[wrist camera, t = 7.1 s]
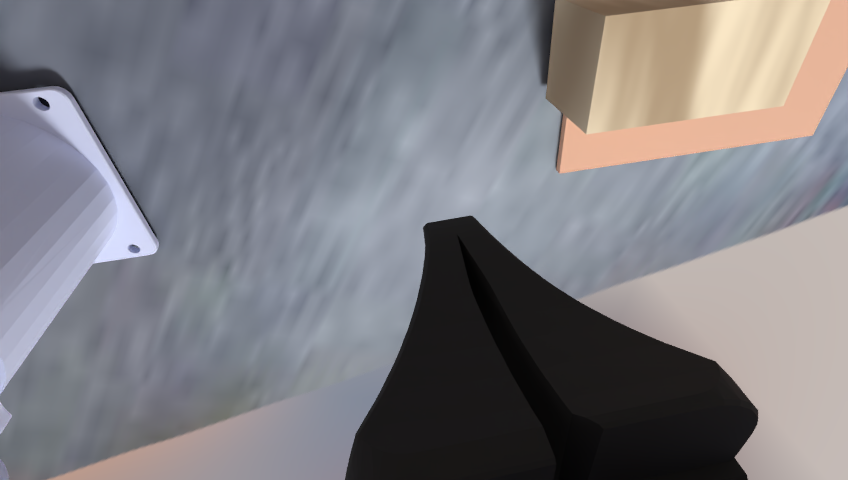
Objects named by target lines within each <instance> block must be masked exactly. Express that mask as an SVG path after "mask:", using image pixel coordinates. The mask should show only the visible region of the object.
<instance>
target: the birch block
mask: <svg viewBox="0 0 848 480" xmlns="http://www.w3.org/2000/svg"><path fill="white" fill-rule="evenodd" d="M830 1H831V0H555V9H554V19H553V29H552V40H551V50H550V60H549V70H548V81H547V91H546V99H547V100H548V101H549V102H550V103H552V104H553V105H554V106H555V107H556V108H557V109H558V110H559V111H560V112H562V113H563V114H564V115H565V116H566V117H567V118H568V119H569V120H571V121H572V122H573V123H574V124H575V125H576V126H577V127H578V128H580V129H581V130H582V131H583V132H584V133H585V134H593V133H600V132H607V131H614V130H621V129H628V128H635V127H642V126H649V125H656V124H663V123H669V122H676V121H683V120H690V119H697V118H704V117H711V116H718V115H725V114H732V113H739V112H746V111H753V110H760V109H767V108H774V107H781V106H784V104H785V101H786V99H787V97H788V95H789V92H790V90H791V88H792V86H793V83H794V81H795V79H796V77H797V74H798V72H799V70H800V68H801V65H802V63H803V61H804V59H805V57H806V54H807V52H808V50H809V48H810V45H811V43H812V41H813V39H814V36H815V34H816V32H817V30H818V27H819V25H820V23H821V21H822V19H823V16H824V14H825V12H826V10H827V7H828V5H829V3H830Z"/></svg>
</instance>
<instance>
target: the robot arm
mask: <svg viewBox="0 0 848 480" xmlns="http://www.w3.org/2000/svg"><path fill="white" fill-rule="evenodd" d="M38 97H41V98H43V99H45V100H46V101H47V102H48V103H49V105H50V107H46V106H44V105H43V104H42V103H41V102H40V101H39V98H38ZM423 230H424V238H425V259H424V267H423V274H422V280H421V284H420V289H419V293H418V298H417V302H416V305H415V309H414V312H413V315H412V319H411V322H410V325H409V328H408V331H407V333H406V336H405V338H404V341H403V344H402V346H401V349H400V351H399V353H398V356H397V358H396V360H395V363H394V365H393V367H392V369H391V371H390V373H389V375H388V377H387V379H386V381H385V383H384V385H383V387H382V389H381V391H380V393H379V395H378V397H377V399H376V401H375V402H374V404H373V406H372V407H371V409H370V411H369V412H368V414H367V416H366V418H365V419H364V421H363V423H362V424H361V426H360V428H359V429H358V431H357V433H356V435H355V439H354V443H353V447H352V450H351V454H350V458H349V463H348V467H347V472H346V478H345V480H748V479H747V475H746V473H745V472H744V470H743V469H742V468H741V466H740V465H739V464H738V462H737V461H736V459H735V458H734V457H735V456H736V455H737V453H738V452H739V451H740V449H741V448H742V447H743V445H744V444H745V443H746V441H747V440H748V438H749V437H750V436H751V434H752V433H753V431H754V429H755V427H756V425H757V422H758V410H757V409H756V408H755V406H754V405H753V404H752V403H751V401H750V400H749V399H748V398H747V397H746V395H745V394H744V393H743V392H742V390H741V389H740V388H739V387H738V385H737V384H736V383H735V382H734V381H733V379H732V378H731V377H730V376H729V375H728V374H727V373H726V372H725V371H724V370H723V369H722V368H721V367H720V366H719V365H718V364H717V363H716V362H715V361H713V360H710V359H707V358H705V357H702V356H699V355H696V354H694V353H691V352H688V351H685V350H683V349H680V348H677V347H675V346H672V345H669V344H666V343H664V342H661V341H659V340H656V339H654V338H652V337H649V336H647V335H645V334H642V333H640V332H638V331H636V330H633V329H631V328H629V327H627V326H625V325H623V324H620V323H618V322H616V321H614V320H612V319H610V318H608V317H607V316H605V315H603V314H601V313H599V312H597V311H595V310H593V309H591V308H589V307H588V306H586V305H584V304H582V303H580V302H579V301H577V300H575V299H574V298H572V297H570V296H569V295H567V294H566V293H564V292H563V291H561V290H559V289H558V288H556V287H555V286H553V285H552V284H551V283H549V282H548V281H546V280H545V279H543V278H542V277H541V276H540V275H538V274H537V273H536V272H534V271H533V270H532V269H530V268H529V267H528V266H526V265H525V264H524V263H523V262H522V261H520V260H519V259H518V258H517V257H516V256H514V255H513V254H512V253H511V252H510V251H509V250H507V249H506V248H505V247H504V246H503V245H502V244H501V243H500V242H499V241H498V240H496V239H495V238H494V237H493V236H492V235H491V234H490V233H489V232H488V231H487V230H486V229H485V228H484V227H483V226H482V225H481V224H480V223H479V222H478V221H477V220H476V219H475V218H474V217H473V216H466V217H460V218H454V219H448V220H443V221H437V222H431V223H427V224H426V225H425V226H424V227H423ZM132 245H136V246H138V247H139V248H135V247H133V246H132ZM158 247H159V242H158V240H157V238H156V237H155V235H154V233H153V232H152V230H151V228H150V226H149V225H148V223H147V221H146V220H145V218H144V216H143V215H142V213H141V211H140V209H139V208H138V206H137V204H136V203H135V201H134V199H133V197H132V196H131V194H130V192H129V191H128V189H127V187H126V185H125V184H124V182H123V180H122V179H121V177H120V175H119V174H118V172H117V170H116V168H115V167H114V165H113V163H112V162H111V160H110V158H109V156H108V155H107V153H106V151H105V150H104V148H103V146H102V145H101V143H100V141H99V139H98V138H97V136H96V134H95V133H94V131H93V129H92V127H91V126H90V124H89V122H88V121H87V119H86V117H85V116H84V114H83V112H82V110H81V109H80V107H79V105H78V104H77V102H76V100H75V98H74V97H73V96H72V94H71V93H70V92H68V91H67V90H66V89H64V88H61V87H59V86H47V87H39V88H31V89H23V90H15V91H7V92H0V394H1V392H2V391H3V390H4V388H5V387H6V385H7V384H8V382H9V381H10V380H11V378H12V377H13V375H14V374H15V373H16V371H17V370H18V368H19V367H20V365H21V364H22V363H23V361H24V360H25V358H26V357H27V356H28V354H29V353H30V351H31V350H32V349H33V347H34V346H35V344H36V343H37V341H38V340H39V339H40V337H41V336H42V334H43V333H44V332H45V330H46V329H47V327H48V326H49V325H50V323H51V322H52V320H53V319H54V317H55V316H56V315H57V313H58V312H59V310H60V309H61V308H62V306H63V305H64V303H65V302H66V301H67V299H68V298H69V296H70V295H71V293H72V292H73V291H74V289H75V288H76V286H77V285H78V284H79V282H80V281H81V279H82V278H83V277H84V275H85V274H86V272H87V271H88V269H89V268H90V267H91V265H92V264H93V263H99V262H106V261H112V260H119V259H125V258H132V257H138V256H145V255H151V254H154V253H155V252H156V251H157V249H158ZM11 417H12V415H11V413H10V412H8V411H7V410H6V409H5V408H4V407H3V405H2V404H1V402H0V434H1V433H2V431H3V430H4V428H5V427H6V425H7V424H8V422H9V420H10V419H11ZM0 480H9V475H8V472H7V469H6V466H5V464H4V463H3V462H2V460H1V459H0Z"/></svg>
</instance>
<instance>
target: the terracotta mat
mask: <svg viewBox="0 0 848 480" xmlns="http://www.w3.org/2000/svg"><path fill="white" fill-rule="evenodd" d="M847 67H848V0H831V1H830V3H829V5H828V7H827V10H826V12H825V14H824V16H823V19H822V21H821V23H820V25H819V27H818V30H817V32H816V34H815V36H814V39H813V41H812V43H811V45H810V48H809V50H808V52H807V54H806V57H805V59H804V61H803V63H802V65H801V68H800V70H799V72H798V74H797V77H796V79H795V81H794V83H793V86H792V88H791V90H790V92H789V95H788V97H787V99H786V101H785V104H784V106H781V107H774V108H767V109H760V110H753V111H746V112H739V113H732V114H725V115H718V116H711V117H704V118H697V119H690V120H683V121H676V122H669V123H663V124H656V125H649V126H642V127H635V128H628V129H621V130H614V131H607V132H600V133H593V134H585V133H584V132H583V131H582V130H581V129H580V128H578V127H577V126H576V125H575V124H574V123H573V122H572V121H571V120H569V119H568V118H567V117H566V116H565V115H564V114H563V120H562V128H561V136H560V144H559V152H558V160H557V168H556V170H557V171H558V172H559V173H566V172H573V171H579V170H586V169H593V168H599V167H606V166H613V165H619V164H626V163H632V162H639V161H646V160H652V159H659V158H666V157H672V156H679V155H686V154H692V153H699V152H706V151H712V150H719V149H725V148H732V147H739V146H745V145H752V144H759V143H765V142H772V141H779V140H785V139H792V138H799V137H805V136H812V135H813V134H814V132H815V130H816V128H817V126H818V124H819V122H820V120H821V118H822V116H823V114H824V112H825V110H826V108H827V106H828V104H829V102H830V100H831V99H832V97H833V95H834V93H835V91H836V89H837V87H838V85H839V83H840V81H841V79H842V77H843V75H844V73H845V71H846V69H847Z"/></svg>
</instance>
